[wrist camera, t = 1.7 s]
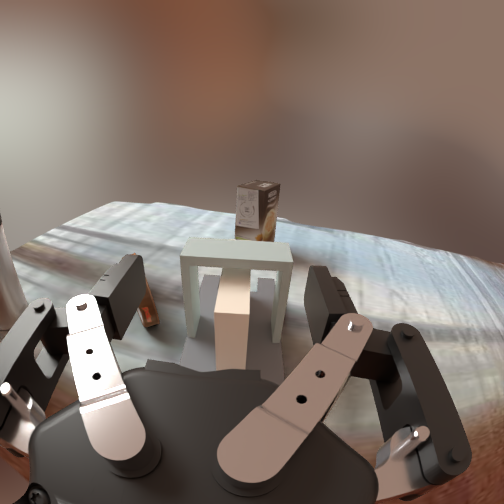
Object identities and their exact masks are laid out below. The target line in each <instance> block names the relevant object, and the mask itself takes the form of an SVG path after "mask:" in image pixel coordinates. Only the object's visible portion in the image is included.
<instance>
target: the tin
mask: <svg viewBox="0 0 504 504" xmlns="http://www.w3.org/2000/svg"><path fill="white" fill-rule="evenodd" d="M131 255H136V253H134V254H131ZM122 259H123V258H122ZM145 278H146V277H145ZM137 311H138V314H139V317H140V319H141V321H142V324H143V326H144V327H149V326H153V325H156V324H160V321H159V317H158V313H157V310H156V306H155V303H154V300H153V297H152V293H151V291H150V288H149V285H148V282H147V280H146V293H145V296H144V298H143V299H142V301H141V303H140V305H139V307H138V309H137Z"/></svg>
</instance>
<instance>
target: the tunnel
mask: <svg viewBox="0 0 504 504" xmlns="http://www.w3.org/2000/svg"><path fill="white" fill-rule="evenodd" d="M180 264H181V276H182V288H183V299H184V308H185V317H186V326H187V334H188V337H191V338H195V336H196V331H197V327H198V323H199V319H200V299H199V280H198V266H205V267H221V268H237V269H254V270H272V271H277V276H276V284H275V292H274V299H273V307H272V314H271V329H272V343H280V339H281V333H282V328H283V322H284V316H285V311H286V305H287V299H288V293H289V287H290V281H291V274H292V268H293V259H292V255H291V251H290V247H289V243H281V242H265V241H248V240H231V239H213V238H194V237H189V239H188V241H187V243H186V245H185V247H184V248H183V250H182V252H181V254H180Z"/></svg>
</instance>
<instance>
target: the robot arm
mask: <svg viewBox="0 0 504 504" xmlns="http://www.w3.org/2000/svg"><path fill="white" fill-rule="evenodd" d="M145 293H146V278H145V272H144V265H143V259H142V257H141V256H140V255H128V254H127V255H125V256H124V257H123V259H122V260H121V261H120V262H119V264H117V263H116V264H115V265H113V266H112V267H110V268H109V269H108V270H107V271H106V272H105V273H104V276H102V277H101V278H100V281H98V282H97V283H96V284H95V286H94V287H93V288H92V289H91V291H90V292H89V293H88V295H79V296H76V297H74V298H73V299H71V300H70V301H69V302H68V304H67V307H57V308H54V306H53V303H52V301H51V300H50V299H49V298H39V299H36V300H34V301H33V302H32V303H30V305H28V303H27V300H26V298H25V295H24V293H23V290H22V287H21V285H20V282H19V279H18V276H17V273H16V270H15V267H14V264H13V261H12V258H11V255H10V251H9V248H8V244H7V241H6V237H5V233H4V229H3V224H2V220H1V215H0V330H8V329H10V331H9V332H8V333H7V335H6V336H5V338H4V339H3V340H2V342H1V343H0V445H1V446H2V447H4V448H6V449H7V450H8V451H9V452H11V453H12V454H13V455H15V456H17V457H24V456H26V457H28V458H29V462H30V481H29V487H28V489H27V491H26V493H25V494H24V495H23V496H22V497H21V498H20V499H19V500H18V501H16V502H15V503H13V504H379V503H383V502H387V501H390V500H394V499H398V498H399V499H400V500H403V501H411V500H414V499H416V498H418V497H420V496H422V495H424V494H426V493H428V492H430V491H432V490H434V489H436V488H437V487H439V486H441V485H443V484H445V483H446V482H448V481H450V480H451V479H453V478H455V477H456V476H458V475H460V474H461V473H463V472H464V471H465V470H466V469H467V468H468V467H469V465H470V462H471V458H472V452H471V448H470V445H469V442H468V439H467V436H466V433H465V431H464V428H463V425H462V423H461V420H460V417H459V415H458V412H457V410H456V407H455V405H454V402H453V400H452V398H451V395H450V393H449V391H448V389H447V386H446V384H445V382H444V380H443V378H442V375H441V373H440V371H439V369H438V367H437V365H436V363H435V361H434V359H433V357H432V355H431V353H430V351H429V349H428V347H427V345H426V343H425V341H424V339H423V338H422V336H421V334H420V332H419V331H418V330H417V329H416V328H415V327H413V326H411V325H409V324H405V323H399V324H396V325H394V326H393V328H392V330H391V332H388V331H383V330H378V329H374V328H373V326H372V323H371V322H370V321H369V319H367V318H366V317H364V316H362V315H360V314H358V313H357V311H356V308H355V306H354V304H353V302H352V300H351V298H350V297H349V294H348V292H347V290H346V288H345V286H344V283H343V282H341V281H340V280H339V279H338V278H337V277H331V275H330V273H329V271H328V268H327V267H326V266H310V268H309V273H308V278H307V283H306V288H305V294H304V306H305V311H306V315H307V319H308V323H309V327H310V332H311V336H312V340H313V345H314V346H313V347H312V349H311V350H310V351H309V352H308V353H307V355H306V356H305V357H304V358H303V360H302V361H301V362H300V363H299V364H298V365H297V367H296V368H295V369H294V370H293V371H292V373H291V374H290V375H289V376H288V377H287V378H286V379H285V381H284V382H283V383H282V384H281V385H278V384H276V383H274V382H272V381H269V380H266V379H262V378H261V375H260V370H247V369H226V370H217V371H209V372H199V371H196V370H193V369H190V368H187V367H184V366H181V365H178V364H175V363H169V362H162V361H156V360H149V359H148V360H147V363H146V366H145V367H141V368H135V369H131V370H128V371H125V372H123V373H122V372H121V370H120V367H119V365H118V362H117V360H116V357H115V354H114V352H113V349H112V346H111V344H110V342H111V340H112V339H117V340H122V338H123V336H124V334H125V332H126V330H127V328H128V326H129V324H130V322H131V320H132V318H133V316H134V315H135V313H136V311H137V309H138V307H139V305H140V303H141V301H142V299H143V298H144V296H145ZM40 340H41V342H42V344H43V346H44V347H43V349H42V350H41V352H40V354H39V355H38V357H37V359H36V361H35V359H34V349H35V347H36V345H37V344H38V342H39V341H40ZM69 358H70V359H71V364H72V369H73V374H74V378H75V382H76V387H77V391H78V395H79V398H80V399H79V400H77V401H75V402H74V403H72V404H70V405H69V406H67V407H65V408H64V409H62V410H60V411H59V412H57V413H55V414H54V415H52V416H50V417H48V418H47V419H45V413H44V412H45V410H46V407H47V405H48V402H49V400H50V398H51V395H52V393H53V391H54V389H55V387H56V384H57V382H58V380H59V378H60V376H61V374H62V372H63V370H64V368H65V366H66V363H67V361H68V360H69ZM351 376H354V377H359V378H365V379H369V381H370V385H371V388H372V392H373V396H374V400H375V404H376V408H377V412H378V416H379V420H380V424H381V429H382V433H383V438H384V442H385V443H384V444H383V445H382V446H381V447H380V448H379V450H378V452H377V457H376V460H377V463H376V467H375V469H374V468H373V467H372V466H371V464H370V463H369V462H368V461H367V460H366V459H365V458H363V457H362V456H361V455H360V454H358V453H357V452H356V451H355V450H354V449H352V448H351V447H350V446H349V445H348V444H346V443H345V442H344V441H343V440H342V439H341V438H339V437H338V436H337V435H336V434H335V433H334V432H332V431H331V430H330V429H329V428H328V427H327V426H326V425H324V424H323V421H324V420H325V418H326V417H327V415H328V414H329V412H330V410H331V409H332V407H333V405H334V404H335V402H336V401H337V399H338V397H339V396H340V394H341V392H342V391H343V389H344V387H345V386H346V384H347V382H348V381H349V379H350V377H351Z"/></svg>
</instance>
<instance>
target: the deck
mask: <svg viewBox="0 0 504 504" xmlns="http://www.w3.org/2000/svg"><path fill="white" fill-rule="evenodd" d="M219 284H220V276H217V275H204V277H203V281H202V284H201V287H200V291H199V299H200V319H199V323H198V327H197V331H196V336H195V338H191V337H188V334H187V337H186V341H185V344H184V348H183V352H182V356H181V359H180V363H179V365H181V366H184V367H187V368H190V369H193V370H196V371H199V372H209V371H216V353H215V327H214V310H215V305H216V299H217V294H218V289H219ZM274 292H275V281H274V279H268V278H258V285H257V292H250V311H249V327H248V340H247V353H246V367H245V369H247V370H260V375H261V378H262V379H266V380H269V381H272V382H274V383H276V384H278V385H281V384H282V383H283V382H284V381H285V378H284V367H283V357H282V347H281V339H280V343H272V329H271V314H272V307H273V299H274Z"/></svg>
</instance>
